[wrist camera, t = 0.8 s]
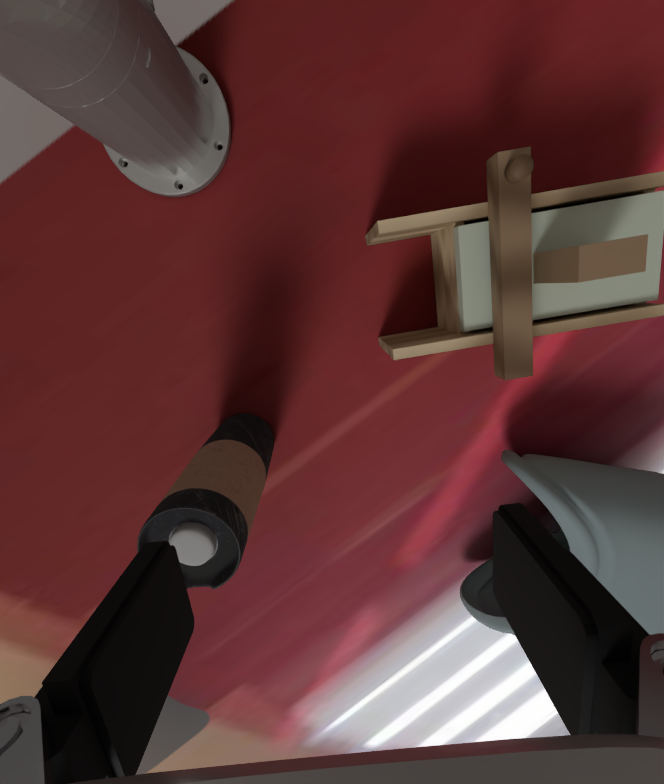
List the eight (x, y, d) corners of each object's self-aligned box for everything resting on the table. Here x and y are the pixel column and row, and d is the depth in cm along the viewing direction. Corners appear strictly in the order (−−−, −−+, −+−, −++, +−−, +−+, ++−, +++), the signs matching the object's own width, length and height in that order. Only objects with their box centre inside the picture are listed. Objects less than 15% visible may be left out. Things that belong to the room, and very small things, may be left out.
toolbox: (365, 235, 39) (377, 221, 30) (597, 195, 39) (677, 168, 30) (379, 345, 42) (394, 359, 34) (593, 309, 42) (664, 315, 33)
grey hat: (575, 591, 53) (646, 682, 41) (447, 572, 53) (480, 658, 40) (631, 454, 47) (735, 513, 35) (488, 432, 47) (541, 483, 34)
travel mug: (240, 398, 44) (176, 485, 25) (289, 437, 45) (264, 547, 26) (202, 442, 45) (113, 556, 26) (250, 478, 47) (200, 611, 28)
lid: (453, 228, 33) (488, 212, 26) (654, 193, 32) (745, 167, 25) (459, 330, 35) (493, 340, 28) (646, 299, 35) (727, 301, 28)
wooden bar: (486, 161, 29) (505, 146, 26) (517, 155, 29) (539, 140, 26) (494, 374, 34) (511, 383, 31) (521, 370, 34) (540, 378, 31)
